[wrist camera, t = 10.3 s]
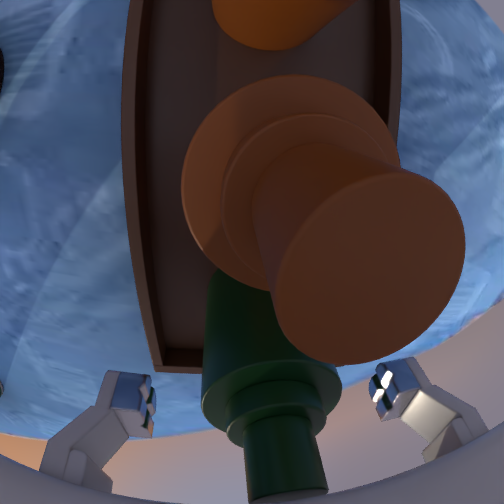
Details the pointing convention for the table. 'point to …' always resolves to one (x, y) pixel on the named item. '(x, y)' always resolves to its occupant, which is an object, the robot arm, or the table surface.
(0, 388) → the canned tomato
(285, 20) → the amber bottle
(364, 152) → the amber bottle
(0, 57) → the coffee mug
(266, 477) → the green bottle
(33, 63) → the table surface
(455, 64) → the table surface
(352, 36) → the tray
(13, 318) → the table surface
